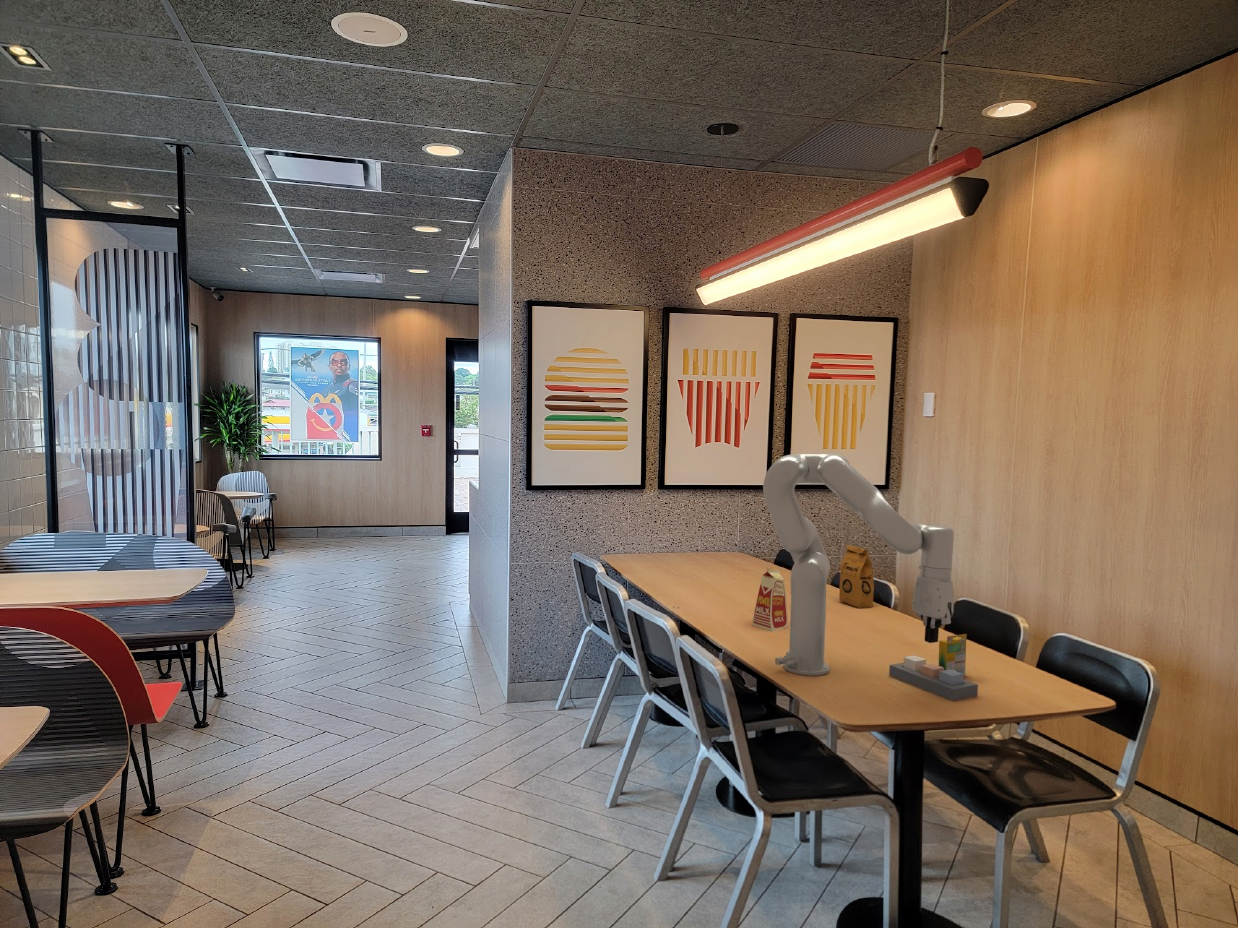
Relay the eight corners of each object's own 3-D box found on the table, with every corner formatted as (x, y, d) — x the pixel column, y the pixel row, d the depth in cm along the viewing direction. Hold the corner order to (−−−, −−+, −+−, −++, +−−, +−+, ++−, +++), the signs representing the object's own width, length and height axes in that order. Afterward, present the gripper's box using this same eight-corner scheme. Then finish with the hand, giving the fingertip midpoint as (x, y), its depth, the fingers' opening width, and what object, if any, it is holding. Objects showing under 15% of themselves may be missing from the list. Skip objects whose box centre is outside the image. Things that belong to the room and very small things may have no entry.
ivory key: (914, 675, 211) (915, 661, 211) (903, 671, 215) (903, 656, 214) (925, 673, 213) (926, 659, 213) (913, 669, 217) (914, 655, 216)
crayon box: (957, 672, 220) (959, 631, 220) (965, 675, 218) (967, 633, 217) (937, 675, 217) (939, 633, 217) (945, 678, 215) (947, 636, 214)
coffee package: (855, 609, 292) (857, 550, 290) (835, 601, 303) (837, 544, 302) (877, 607, 295) (880, 549, 294) (857, 600, 307) (859, 544, 305)
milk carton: (772, 631, 259) (774, 570, 258) (750, 625, 266) (752, 566, 265) (790, 627, 265) (792, 568, 263) (768, 621, 272) (770, 563, 271)
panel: (952, 700, 197) (953, 689, 197) (889, 675, 216) (889, 664, 216) (977, 695, 201) (977, 684, 201) (913, 671, 220) (913, 660, 220)
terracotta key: (932, 684, 206) (933, 669, 206) (920, 680, 209) (921, 665, 209) (943, 682, 208) (944, 667, 207) (931, 678, 211) (932, 663, 211)
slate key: (951, 691, 200) (952, 675, 200) (938, 686, 204) (939, 671, 204) (962, 689, 202) (963, 673, 202) (949, 684, 206) (950, 669, 206)
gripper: (903, 568, 212) (899, 635, 214) (948, 579, 199) (943, 651, 200) (923, 566, 216) (919, 632, 217) (969, 578, 202) (964, 648, 203)
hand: (931, 641), depth 208 cm, fingers closed
